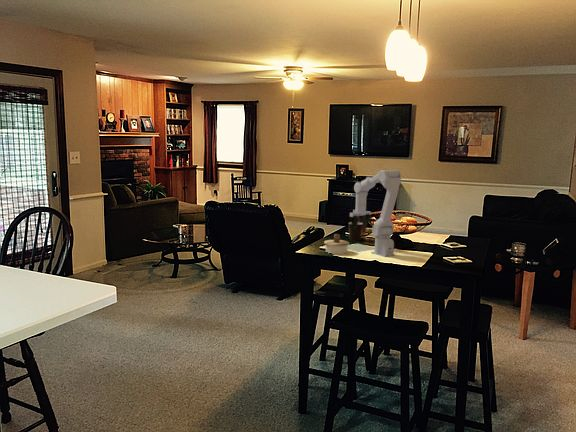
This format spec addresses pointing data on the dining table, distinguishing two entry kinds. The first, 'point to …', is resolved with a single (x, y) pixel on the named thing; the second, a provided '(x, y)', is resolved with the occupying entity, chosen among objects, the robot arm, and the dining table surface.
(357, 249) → the mat
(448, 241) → the dining table surface
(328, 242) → the lid
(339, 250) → the bowl
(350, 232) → the coffee mug
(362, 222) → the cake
